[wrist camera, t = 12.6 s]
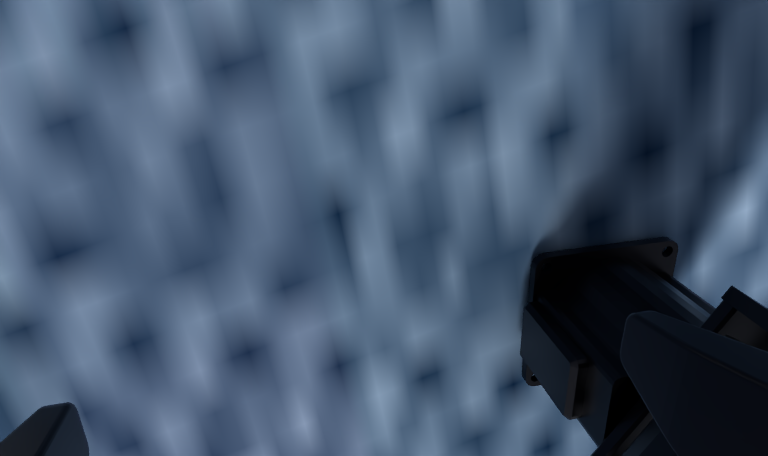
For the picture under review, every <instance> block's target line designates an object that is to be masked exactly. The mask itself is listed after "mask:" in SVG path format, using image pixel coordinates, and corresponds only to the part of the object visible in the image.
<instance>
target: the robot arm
mask: <svg viewBox="0 0 768 456" xmlns="http://www.w3.org/2000/svg"><path fill="white" fill-rule="evenodd" d="M665 247H667V248H666V250H665V251H664V252H662V251H663V249H664V248H665ZM677 253H678V245H677V243H676V242H674V241H672V240H671V239H669V238H668V237H660V238H652V239H645V240H637V241H630V242H622V243H615V244H607V245H600V246H592V247H585V248H577V249H570V250H563V251H555V252H548V253H542V254H539V255H538V256H536V257H535V258H534V260H533V261H532V264H531V273H530V285H529V296H528V303H527V304H526V306H525V307H524V313H523V325H522V337H521V349H520V355H521V357H522V358H523V366H522V377H523V378H524V380H525V381H526V383H527V384H528V385H530V386H538V385H542V386H543V388H544V389H545V391H546V392H547V393H548V395H549V396H550V398H551V399H552V401H553V402H554V403H555V405H556V406H557V408H558V409H559V410H560V412H561V413H562V415H563V416H565V417H566V418H567V419H569V420H571V419H576V418H577V419H578V421H579V422H580V423H581V425H582V426H583V427H584V429H585V430H586V432H587V433H588V434H589V436H590V437H591V438H592V440H593V441H594V442H595V444H596V445H597V447H598V448H597V449H596V450H595V451H594V452H593V454H592V455H591V456H768V308H766V307H765V306H763V305H761V304H760V303H758V302H757V301H755V300H754V299H752V298H751V297H749V296H747V295H746V294H744V293H743V292H741V291H740V290H738V289H736V288H735V287H733V286H731V287H730V288H729V289H728V290H727V291H726V293H725V294H724V295H723V296H722V297H721V298H722V299H723V301H722V302H721V303H720V305H719V306H718V307H717V308H714V307H713V306H712V305H710V304H709V303H707V302H706V301H705V300H703V299H702V298H701V297H699V296H698V295H696V294H695V293H694V292H692V291H691V290H690V289H688V288H687V287H686V286H684V285H683V284H681V283H680V282H679V281H677V280H676V279H675V278H673V272H674V267H675V262H676V257H677ZM546 263H548V265H547V267H546V268H544V269H541V268H542V266H543V265H544V264H546ZM533 374H534V375H533ZM532 375H533V376H532ZM0 456H89V447H88V442H87V439H86V436H85V433H84V429H83V426H82V423H81V420H80V417H79V414H78V411H77V408H76V407H75V405H74V404H72V403H70V402H67V403H61V404H54V405H48V406H44V407H41V408H40V409H38V410H37V411H36V412H35V413H34V414H32V415H31V416H30V417H29V418H28V419H27V420H26V421H24V422H23V423H22V424H21V425H20V426H19V427H17V428H16V429H15V430H14V431H13V432H12V433H11V434H9V435H8V436H7V437H6V438H5V439H4V440H3V441H1V442H0Z"/></svg>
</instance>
